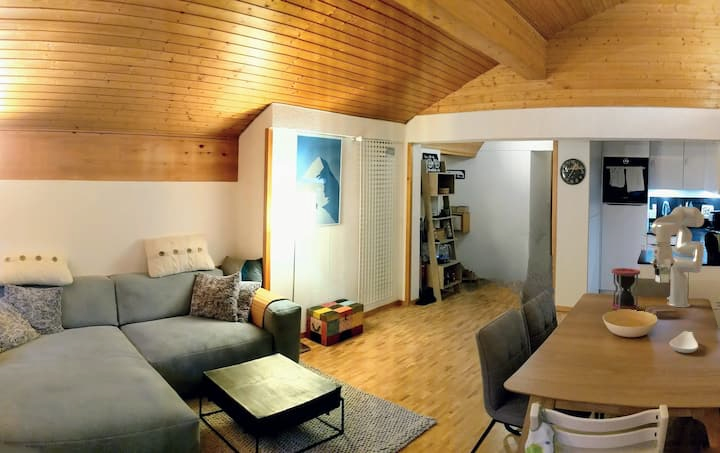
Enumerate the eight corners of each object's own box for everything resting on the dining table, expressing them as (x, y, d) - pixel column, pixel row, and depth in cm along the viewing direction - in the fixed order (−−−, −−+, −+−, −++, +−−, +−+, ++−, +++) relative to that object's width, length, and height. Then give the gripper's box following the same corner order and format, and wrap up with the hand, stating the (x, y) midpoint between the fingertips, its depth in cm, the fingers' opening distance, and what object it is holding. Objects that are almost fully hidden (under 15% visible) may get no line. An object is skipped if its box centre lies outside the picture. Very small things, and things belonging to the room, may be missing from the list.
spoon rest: (696, 357, 246) (696, 342, 246) (667, 352, 254) (667, 338, 253) (702, 344, 264) (703, 330, 264) (675, 340, 272) (676, 326, 271)
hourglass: (644, 309, 334) (645, 270, 331) (631, 313, 324) (632, 273, 322) (618, 304, 346) (619, 267, 344) (606, 308, 337) (606, 270, 335)
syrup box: (664, 281, 317) (665, 257, 316) (669, 283, 311) (670, 258, 310) (655, 281, 318) (655, 257, 316) (659, 283, 312) (660, 258, 311)
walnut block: (644, 314, 323) (645, 306, 322) (664, 313, 323) (664, 305, 322) (655, 319, 311) (656, 311, 310) (676, 318, 311) (676, 310, 311)
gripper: (654, 246, 307) (654, 276, 309) (681, 244, 310) (680, 274, 312) (645, 244, 315) (645, 274, 317) (671, 243, 318) (670, 272, 319)
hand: (662, 274), depth 314 cm, fingers closed on syrup box, 6 cm apart
